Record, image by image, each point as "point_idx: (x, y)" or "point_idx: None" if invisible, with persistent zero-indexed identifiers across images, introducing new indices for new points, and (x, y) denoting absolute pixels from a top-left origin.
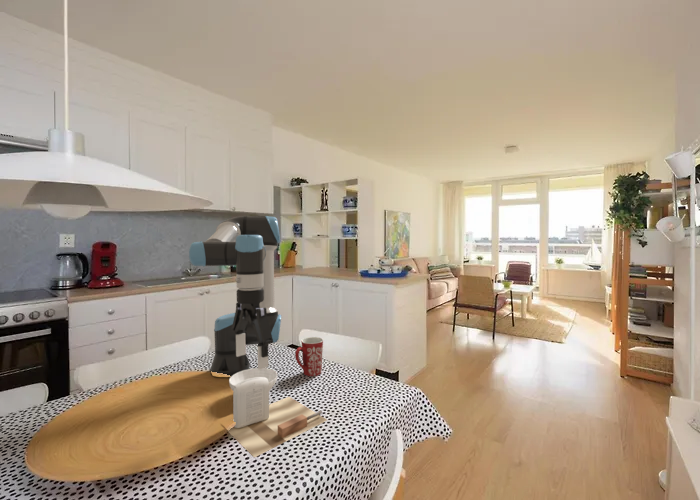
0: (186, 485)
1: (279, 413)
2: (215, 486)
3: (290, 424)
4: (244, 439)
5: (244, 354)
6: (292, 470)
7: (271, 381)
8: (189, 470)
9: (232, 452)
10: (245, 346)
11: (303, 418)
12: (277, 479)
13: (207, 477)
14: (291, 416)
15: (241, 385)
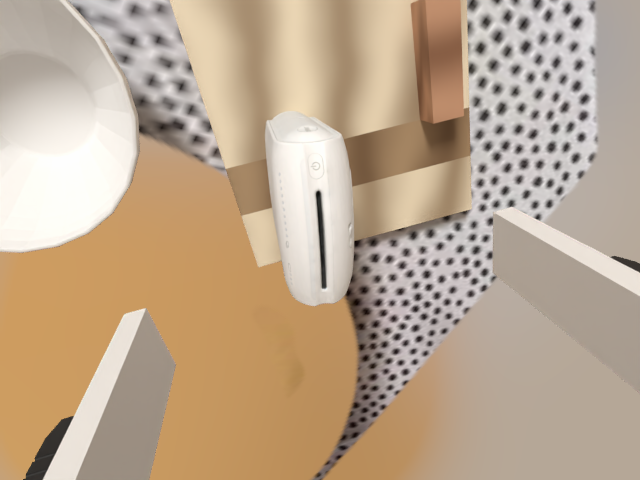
0: (431, 328)
1: (295, 63)
2: (471, 284)
3: (458, 77)
4: (381, 217)
5: (150, 318)
6: (547, 127)
7: (95, 34)
8: (391, 325)
9: (387, 243)
10: (124, 359)
11: (456, 8)
12: (544, 169)
13: (436, 295)
14: (345, 25)
15: (341, 283)
